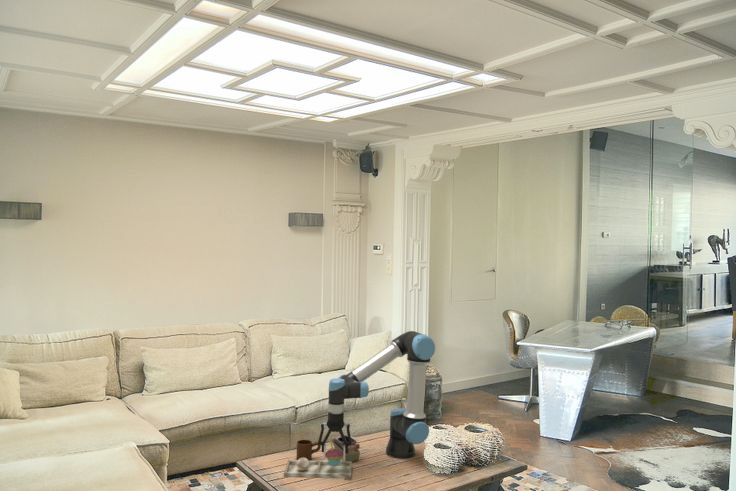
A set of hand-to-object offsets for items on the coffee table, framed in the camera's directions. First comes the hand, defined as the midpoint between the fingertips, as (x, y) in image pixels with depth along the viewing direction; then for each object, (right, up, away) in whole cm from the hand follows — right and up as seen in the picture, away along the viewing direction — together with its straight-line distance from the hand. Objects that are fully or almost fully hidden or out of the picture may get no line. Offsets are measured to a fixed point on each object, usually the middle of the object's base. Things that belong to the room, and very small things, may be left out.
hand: (334, 459), depth 290 cm
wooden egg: (-15, -5, 0) cm, 16 cm away
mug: (-14, -6, +15) cm, 21 cm away
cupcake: (0, -3, 0) cm, 3 cm away
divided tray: (-8, -6, 0) cm, 10 cm away
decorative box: (+3, -7, +22) cm, 23 cm away
